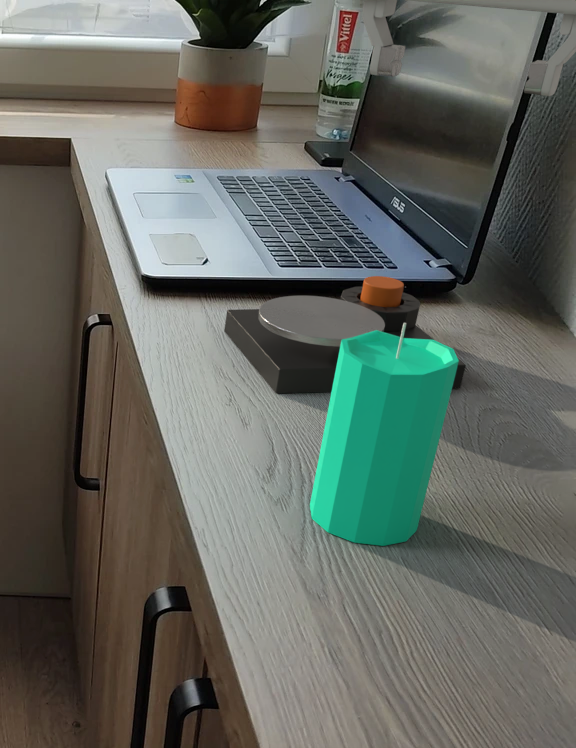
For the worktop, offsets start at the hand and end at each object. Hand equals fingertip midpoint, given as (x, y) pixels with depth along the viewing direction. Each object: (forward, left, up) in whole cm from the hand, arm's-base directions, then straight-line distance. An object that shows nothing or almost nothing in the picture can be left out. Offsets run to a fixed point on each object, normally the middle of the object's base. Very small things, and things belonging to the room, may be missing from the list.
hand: (458, 84), depth 69 cm
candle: (+9, +16, -22) cm, 29 cm away
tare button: (-3, -10, -18) cm, 21 cm away
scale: (+1, -7, -22) cm, 23 cm away
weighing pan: (+4, -5, -18) cm, 19 cm away
